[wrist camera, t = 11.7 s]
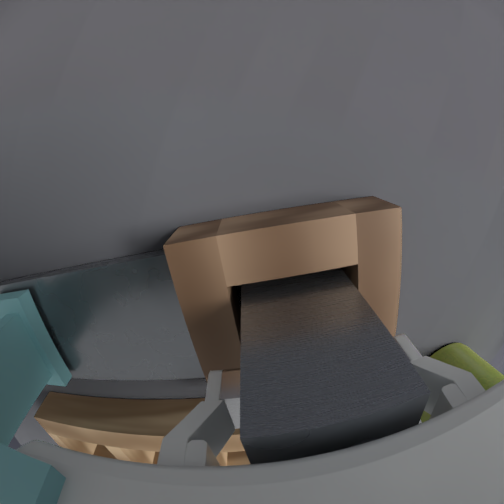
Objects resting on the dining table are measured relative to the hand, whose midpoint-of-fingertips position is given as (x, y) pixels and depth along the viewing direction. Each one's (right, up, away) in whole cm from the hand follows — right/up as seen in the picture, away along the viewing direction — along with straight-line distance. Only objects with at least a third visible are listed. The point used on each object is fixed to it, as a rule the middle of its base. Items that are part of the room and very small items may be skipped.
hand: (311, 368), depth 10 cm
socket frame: (-9, 0, +6) cm, 10 cm away
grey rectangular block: (0, +2, +5) cm, 6 cm away
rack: (-9, -11, +10) cm, 17 cm away
